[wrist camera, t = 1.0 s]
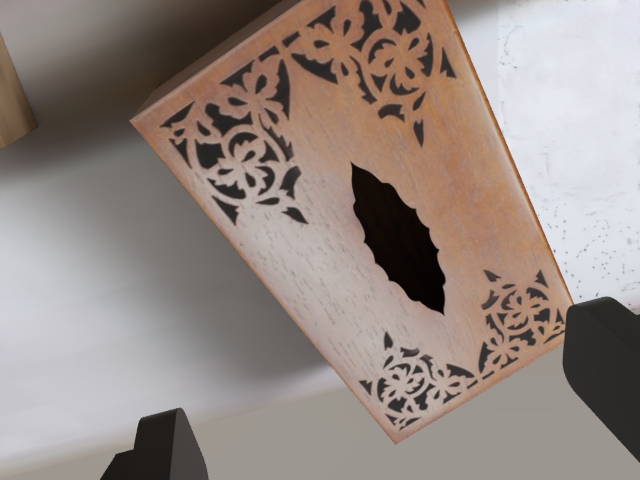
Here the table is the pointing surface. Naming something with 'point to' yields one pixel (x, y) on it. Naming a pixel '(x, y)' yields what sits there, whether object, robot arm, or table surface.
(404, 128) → the tissue box cover
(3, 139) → the walnut block
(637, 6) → the table surface
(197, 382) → the table surface
